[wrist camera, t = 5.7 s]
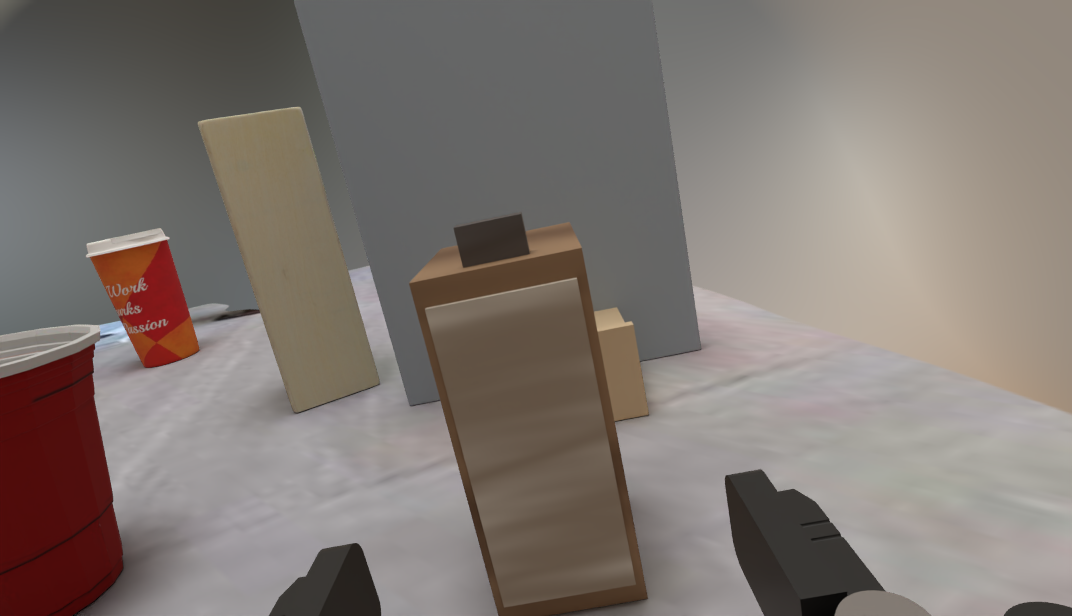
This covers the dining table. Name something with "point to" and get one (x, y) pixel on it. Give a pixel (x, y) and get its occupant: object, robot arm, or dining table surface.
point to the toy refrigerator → (291, 253)
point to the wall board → (511, 155)
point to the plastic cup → (53, 476)
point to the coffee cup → (146, 295)
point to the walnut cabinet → (530, 416)
